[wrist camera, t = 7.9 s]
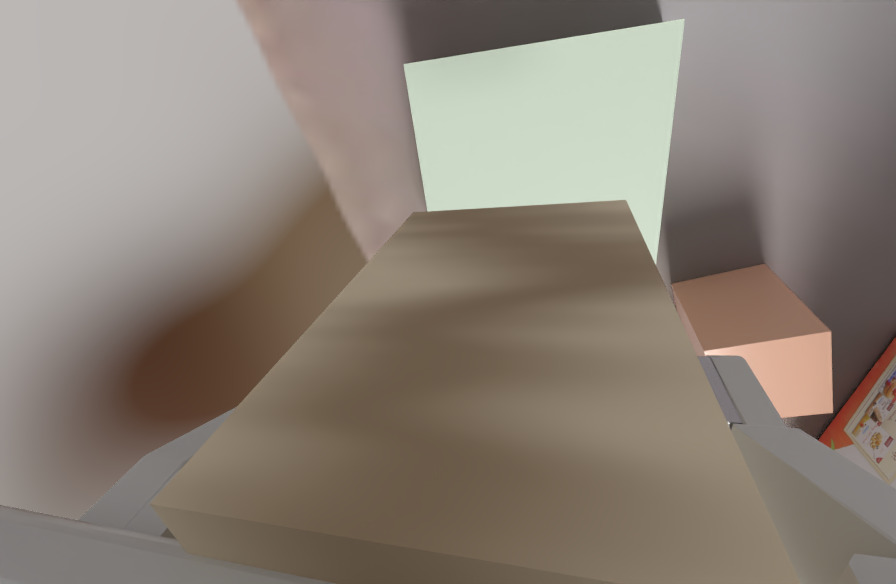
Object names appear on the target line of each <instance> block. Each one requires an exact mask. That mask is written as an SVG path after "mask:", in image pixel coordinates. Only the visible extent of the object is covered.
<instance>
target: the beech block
mask: <svg viewBox="0 0 896 584" xmlns="http://www.w3.org/2000/svg"><path fill="white" fill-rule="evenodd" d="M150 505H151V507H152V508H153V509H154V511H155V512H156V513H157V515H158V516H159V517H160V518H161V520H162V521H163V522H164V524H165V525H166V526H167V528H168V529H169V530H170V532H171V533H172V534H173V536H174V537H175V538H176V540H177V541H178V542H179V543H180V545H181V546H182V547H183V549H184V550H185V551H186V553H188V554H193V555H198V556H203V557H208V558H213V559H218V560H223V561H228V562H232V563H237V564H242V565H247V566H252V567H257V568H262V569H267V570H272V571H277V572H281V573H286V574H291V575H296V576H301V577H306V578H311V579H316V580H321V581H326V582H330V583H335V584H801V583H800V581H799V579H798V576H797V574H796V572H795V570H794V568H793V565H792V563H791V561H790V559H789V557H788V554H787V552H786V550H785V548H784V546H783V543H782V541H781V539H780V537H779V535H778V532H777V530H776V528H775V526H774V524H773V522H772V519H771V517H770V515H769V513H768V511H767V508H766V506H765V504H764V502H763V500H762V497H761V495H760V493H759V491H758V489H757V486H756V484H755V482H754V480H753V478H752V475H751V473H750V471H749V469H748V467H747V464H746V462H745V460H744V458H743V456H742V453H741V451H740V449H739V447H738V445H737V442H736V440H735V438H734V436H733V434H732V431H731V429H730V427H729V425H728V423H727V420H726V418H725V416H724V414H723V412H722V409H721V407H720V405H719V403H718V401H717V399H716V396H715V394H714V392H713V390H712V388H711V385H710V383H709V381H708V379H707V377H706V374H705V372H704V370H703V368H702V366H701V363H700V361H699V359H698V357H697V355H696V352H695V350H694V348H693V346H692V344H691V341H690V339H689V337H688V335H687V333H686V330H685V328H684V326H683V324H682V322H681V319H680V317H679V315H678V313H677V311H676V308H675V306H674V304H673V302H672V300H671V297H670V295H669V293H668V291H667V289H666V286H665V284H664V282H663V280H662V278H661V276H660V273H659V271H658V269H657V267H656V265H655V262H654V260H653V258H652V256H651V254H650V251H649V249H648V247H647V245H646V243H645V240H644V238H643V236H642V234H641V232H640V229H639V227H638V225H637V223H636V221H635V218H634V216H633V214H632V212H631V210H630V207H629V205H628V203H627V201H626V200H614V201H597V202H580V203H563V204H546V205H529V206H512V207H495V208H478V209H461V210H444V211H427V212H413V213H412V214H411V216H410V217H409V218H408V219H407V220H406V221H405V222H404V223H403V224H402V226H401V227H400V228H399V229H398V230H397V231H396V232H395V233H394V234H393V235H392V237H391V238H390V239H389V240H388V241H387V242H386V243H385V244H384V245H383V247H382V248H381V249H380V250H379V251H378V252H377V253H376V254H375V255H374V256H373V258H372V259H371V260H370V261H369V262H368V263H367V264H366V265H365V266H364V267H363V269H362V270H361V271H360V272H359V273H358V274H357V275H356V276H355V277H354V279H353V280H352V281H351V282H350V283H349V284H348V285H347V286H346V287H345V288H344V290H343V291H342V292H341V293H340V294H339V295H338V296H337V298H335V300H334V301H333V302H332V303H331V304H330V305H329V306H328V307H327V308H326V309H325V311H324V312H323V313H322V314H321V315H320V316H319V317H318V318H317V319H316V321H315V322H314V323H313V324H312V325H311V326H310V327H309V328H308V329H307V330H306V332H305V333H304V334H303V335H302V336H301V337H300V338H299V339H298V341H296V343H295V344H294V345H293V346H292V347H291V348H290V349H289V350H288V351H287V353H286V354H285V355H284V356H283V357H282V358H281V359H280V360H279V361H278V362H277V364H276V365H275V366H274V367H273V368H272V369H271V370H270V371H269V372H268V373H267V375H266V376H265V377H264V378H263V379H262V380H261V381H260V382H259V384H258V385H257V386H256V387H255V388H254V389H253V390H252V391H251V392H250V394H248V396H247V397H246V398H245V399H244V400H243V401H242V402H241V403H240V404H239V406H238V407H237V408H236V409H235V410H234V411H233V412H232V413H231V414H230V415H229V417H228V418H227V419H226V420H225V421H224V422H223V423H222V424H221V425H220V426H219V428H218V429H217V430H216V431H215V432H214V433H213V434H212V435H211V436H210V438H209V439H208V440H207V441H206V442H205V443H204V444H203V445H202V446H201V447H200V449H199V450H198V451H197V452H196V453H195V454H194V455H193V456H192V457H191V459H190V460H189V461H188V462H187V463H186V464H185V465H184V466H183V467H182V468H181V470H180V471H179V472H178V473H177V474H176V475H175V476H174V477H173V478H172V479H171V481H170V482H169V483H168V484H167V485H166V486H165V487H164V488H163V489H162V491H161V492H160V493H159V494H158V495H157V496H156V497H155V498H154V499H153V500H152V502H151V503H150Z"/></svg>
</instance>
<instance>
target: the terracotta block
mask: <svg viewBox="0 0 896 584" xmlns="http://www.w3.org/2000/svg"><path fill="white" fill-rule="evenodd" d="M671 285H672V290H673V295H674V300H675V305H676V310H677V313H678V315H679V317H680V319H681V322H682V324H683V326H684V328H685V330H686V333H687V335H688V337H689V339H690V341H691V344H692V346H693V348H694V350H695V352H696V355H697V356H706V355H730V356H741V357H742V358H744V359H745V360H746V362H747V363H748V365H749V366H750V368H751V370H752V371H753V373H754V374H755V376H756V378H757V379H758V381H759V383H760V384H761V386H762V387H763V389H764V391H765V392H766V394H767V395H768V397H769V399H770V400H771V402H772V403H773V405H774V407H775V408H776V410H777V412H778V413H779V415H780V416H781V418H785V417H795V416H805V415H816V414H826V413H833V390H832V346H831V331H830V330H829V328H828V327H827V326H826V325H825V324H824V323H823V322H822V321H821V320H820V319H819V318H818V317H817V316H816V315H815V314H814V313H813V312H812V311H811V310H810V309H809V308H808V307H807V306H806V305H805V304H804V303H803V302H802V301H801V300H800V299H799V298H798V297H797V296H796V295H795V294H794V293H793V292H792V291H791V290H790V289H789V288H788V287H787V286H786V285H785V284H784V282H783V281H782V280H781V279H780V278H779V277H778V276H777V275H776V274H775V273H774V272H773V271H772V270H771V269H770V268H769V267H768V266H767V265H766V264H761V265H756V266H751V267H747V268H742V269H737V270H733V271H728V272H724V273H719V274H714V275H710V276H705V277H701V278H696V279H691V280H687V281H682V282H677V283H673V284H671Z"/></svg>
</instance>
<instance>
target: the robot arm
mask: <svg viewBox="0 0 896 584" xmlns="http://www.w3.org/2000/svg"><path fill="white" fill-rule="evenodd" d="M697 357H698V359H699V361H700V363H701V366H702V368H703V370H704V372H705V374H706V377H707V379H708V381H709V383H710V385H711V388H712V390H713V392H714V394H715V396H716V399H717V401H718V403H719V405H720V407H721V409H722V412H723V414H724V416H725V418H726V420H727V423H728V425H729V427H730V429H731V431H732V434H733V436H734V438H735V440H736V442H737V445H738V447H739V449H740V451H741V453H742V456H743V458H744V460H745V462H746V464H747V467H748V469H749V471H750V473H751V475H752V478H753V480H754V482H755V484H756V486H757V489H758V491H759V493H760V495H761V497H762V500H763V502H764V504H765V506H766V508H767V511H768V513H769V515H770V517H771V519H772V522H773V524H774V526H775V528H776V530H777V532H778V535H779V537H780V539H781V541H782V543H783V546H784V548H785V550H786V552H787V554H788V557H789V559H790V561H791V563H792V565H793V568H794V570H795V572H796V574H797V576H798V579H799V581H800V583H801V584H896V489H894V488H893V487H891V486H890V485H888V484H887V483H885V482H883V481H882V480H880V479H879V478H877V477H875V476H874V475H872V474H871V473H869V472H867V471H866V470H864V469H863V468H861V467H859V466H858V465H856V464H855V463H853V462H852V461H850V460H848V459H847V458H845V457H844V456H842V455H840V454H839V453H837V452H836V451H834V450H832V449H831V448H829V447H828V446H826V445H825V444H823V443H821V442H820V441H818V440H817V439H815V438H813V437H812V436H810V435H809V434H807V433H805V432H804V431H802V430H801V429H799V428H787V426H786V424H785V423H784V421H783V420H782V418H781V416H780V415H779V413H778V412H777V410H776V408H775V407H774V405H773V403H772V402H771V400H770V399H769V397H768V395H767V394H766V392H765V391H764V389H763V387H762V386H761V384H760V383H759V381H758V379H757V378H756V376H755V374H754V373H753V371H752V370H751V368H750V366H749V365H748V363H747V362H746V360H745V359H744V358H742V357H741V356H730V355H706V356H697ZM236 408H237V407H236ZM236 408H234V409H232V410H230V411H228V412H226V413H225V414H223V415H221V416H219V417H217V418H215V419H213V420H212V421H209V422H208V423H206V424H204V425H202V426H200V427H198V428H196V429H195V430H193V431H191V432H189V433H187V434H185V435H183V436H181V437H179V438H178V439H176V440H174V441H172V442H170V443H168V444H166V445H164V446H162V447H160V448H159V449H157V450H155V451H153V452H151V453H149V454H147V455H145V456H144V457H143V458H142V459H141V460H140V461H139V462H138V463H136V465H134V466H133V467H132V468H131V469H130V470H129V471H128V472H127V473H126V474H125V475H124V476H123V477H122V478H121V479H120V480H119V481H118V482H117V483H116V484H115V485H114V486H113V487H112V488H111V489H110V490H109V491H108V492H107V493H106V494H105V495H104V496H103V497H102V498H100V499H99V500H98V501H97V502H96V503H95V504H94V505H93V506H92V507H91V508H90V509H89V510H88V511H87V512H86V513H85V514H84V515H83V516H82V517H81V518H80V519H79V520H75V519H70V518H65V517H59V516H54V515H49V514H44V513H39V512H34V511H29V510H24V509H19V508H14V507H9V506H4V505H0V584H335V583H330V582H326V581H321V580H316V579H311V578H306V577H301V576H296V575H291V574H286V573H281V572H277V571H272V570H267V569H262V568H257V567H252V566H247V565H242V564H237V563H232V562H228V561H223V560H218V559H213V558H208V557H203V556H198V555H193V554H188V553H186V551H185V550H184V549H183V547H182V546H181V545H180V543H179V542H178V541H177V540H176V538H175V537H174V536H173V534H172V533H171V532H170V530H169V529H168V528H167V526H166V525H165V524H164V522H163V521H162V520H161V518H160V517H159V516H158V515H157V513H156V512H155V511H154V509H153V508H152V507H151V505H150V503H151V502H152V500H153V499H154V498H155V497H156V496H157V495H158V494H159V493H160V492H161V491H162V489H163V488H164V487H165V486H166V485H167V484H168V483H169V482H170V481H171V479H172V478H173V477H174V476H175V475H176V474H177V473H178V472H179V471H180V470H181V468H182V467H183V466H184V465H185V464H186V463H187V462H188V461H189V460H190V459H191V457H192V456H193V455H194V454H195V453H196V452H197V451H198V450H199V449H200V447H201V446H202V445H203V444H204V443H205V442H206V441H207V440H208V439H209V438H210V436H211V435H212V434H213V433H214V432H215V431H216V430H217V429H218V428H219V426H220V425H221V424H222V423H223V422H224V421H225V420H226V419H227V418H228V417H229V415H230V414H231V413H232V412H233V411H234V410H235V409H236Z"/></svg>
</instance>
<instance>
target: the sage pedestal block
mask: <svg viewBox="0 0 896 584" xmlns="http://www.w3.org/2000/svg"><path fill="white" fill-rule="evenodd" d="M684 21H685V19H680V20H674V21H668V22H662V23H655V24H649V25H643V26H637V27H631V28H624V29H618V30H612V31H606V32H600V33H593V34H587V35H581V36H575V37H569V38H563V39H556V40H550V41H544V42H538V43H532V44H525V45H519V46H513V47H507V48H501V49H494V50H488V51H482V52H476V53H470V54H464V55H457V56H451V57H445V58H439V59H433V60H426V61H420V62H414V63H408V64H404V70H405V76H406V82H407V88H408V95H409V101H410V107H411V113H412V119H413V125H414V131H415V138H416V144H417V150H418V156H419V162H420V168H421V174H422V180H423V187H424V193H425V199H426V205H427V211H444V210H461V209H478V208H495V207H512V206H529V205H546V204H563V203H580V202H597V201H614V200H626V201H627V203H628V205H629V207H630V210H631V212H632V214H633V216H634V218H635V221H636V223H637V225H638V227H639V229H640V232H641V234H642V236H643V238H644V240H645V243H646V245H647V247H648V249H649V251H650V254H651V256H652V258H653V260H654V262H655V265H656V260H657V252H658V243H659V235H660V226H661V218H662V209H663V201H664V192H665V183H666V175H667V166H668V158H669V149H670V141H671V132H672V123H673V115H674V106H675V98H676V89H677V81H678V72H679V64H680V55H681V46H682V38H683V29H684Z"/></svg>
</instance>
